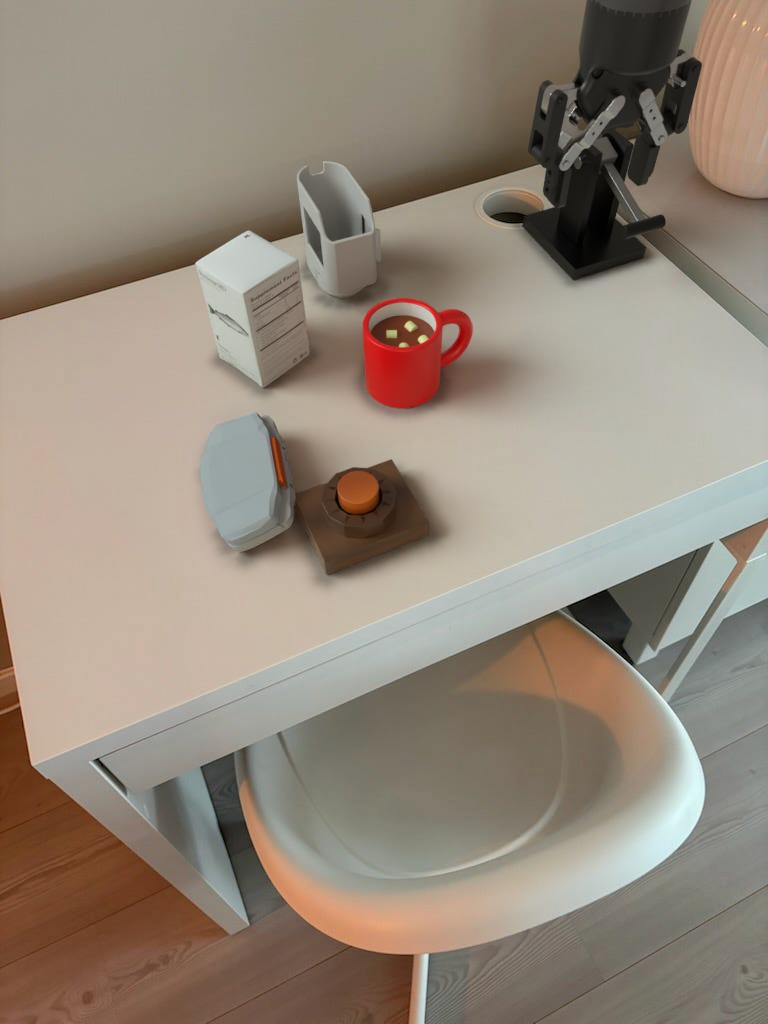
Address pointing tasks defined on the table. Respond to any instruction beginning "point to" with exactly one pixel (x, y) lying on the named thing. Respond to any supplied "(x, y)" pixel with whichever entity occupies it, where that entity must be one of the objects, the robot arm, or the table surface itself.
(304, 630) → the table surface
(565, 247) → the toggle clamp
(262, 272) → the white packaging box
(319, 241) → the cable organizer
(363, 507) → the button
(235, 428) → the grey case
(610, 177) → the lever
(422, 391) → the mug
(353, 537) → the button block
